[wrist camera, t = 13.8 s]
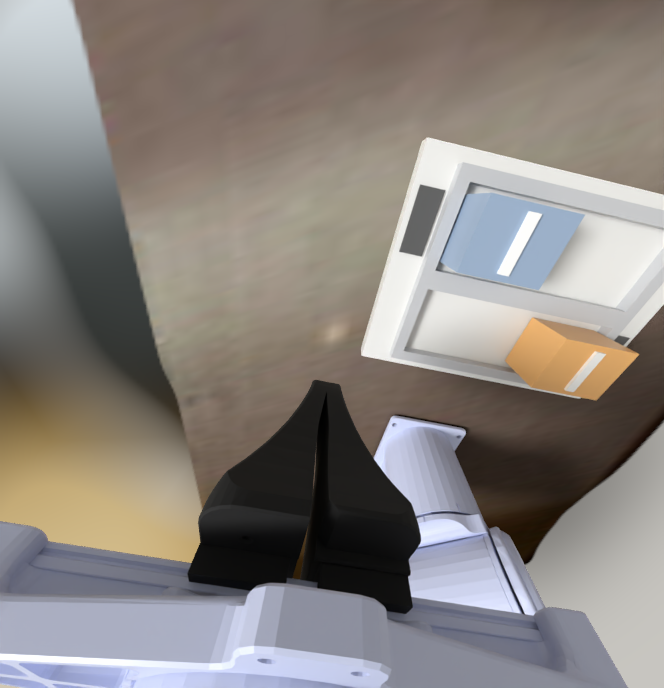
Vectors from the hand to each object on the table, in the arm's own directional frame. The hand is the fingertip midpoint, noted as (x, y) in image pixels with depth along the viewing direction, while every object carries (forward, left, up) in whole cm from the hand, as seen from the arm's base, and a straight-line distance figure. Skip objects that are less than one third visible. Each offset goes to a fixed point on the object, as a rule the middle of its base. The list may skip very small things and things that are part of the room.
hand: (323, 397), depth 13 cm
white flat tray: (+5, -13, -10) cm, 17 cm away
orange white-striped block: (+2, -17, -9) cm, 19 cm away
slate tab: (+9, -9, -9) cm, 15 cm away
